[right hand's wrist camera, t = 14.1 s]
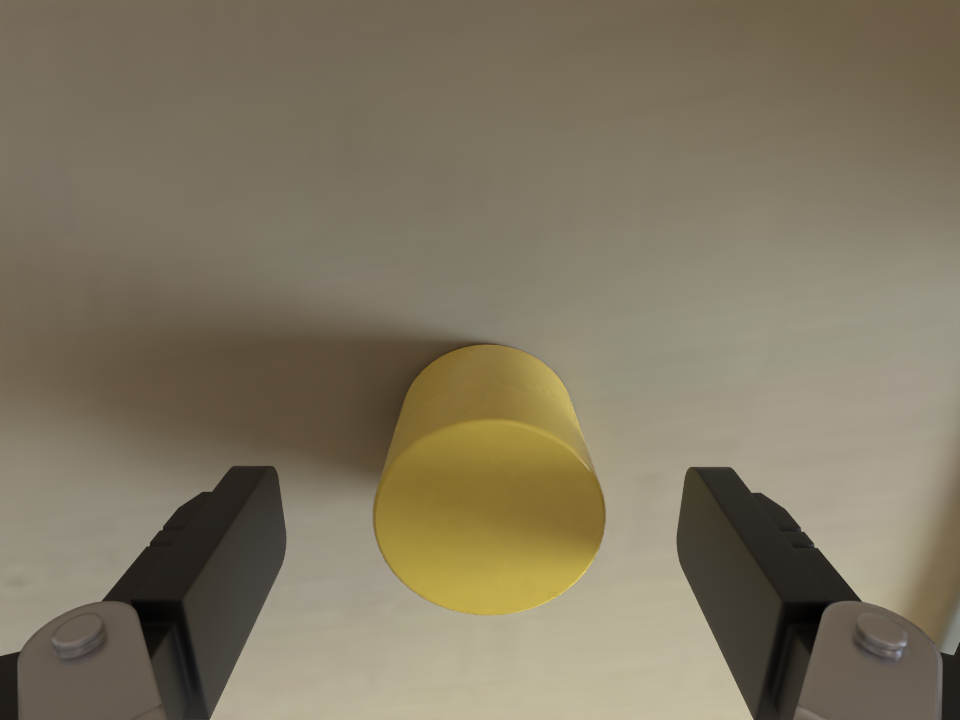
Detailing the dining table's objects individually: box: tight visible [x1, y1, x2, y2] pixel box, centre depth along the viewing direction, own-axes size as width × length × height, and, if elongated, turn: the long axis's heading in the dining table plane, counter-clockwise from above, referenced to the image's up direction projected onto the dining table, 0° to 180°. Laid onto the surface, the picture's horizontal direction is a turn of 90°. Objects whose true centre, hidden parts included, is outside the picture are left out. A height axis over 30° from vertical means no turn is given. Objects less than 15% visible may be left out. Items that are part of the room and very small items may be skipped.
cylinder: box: [373, 345, 606, 615], centre depth 13 cm, size 4×4×4 cm
